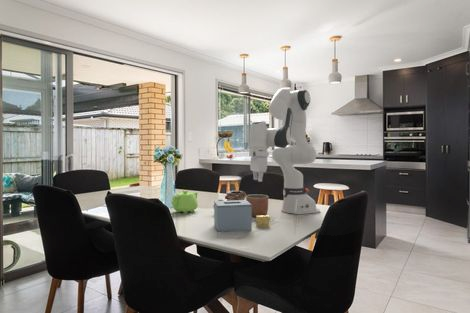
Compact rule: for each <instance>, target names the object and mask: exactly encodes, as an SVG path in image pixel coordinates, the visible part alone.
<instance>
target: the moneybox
mask: <svg viewBox="0 0 470 313" xmlns="http://www.w3.org/2000/svg"><path fill="white" fill-rule="evenodd" d="M213 206H214V207H213V209H214V210H213V212H214V213H213V215H214V218H213V219H214V224H213V225H214V227H215V229H216V232H217V233H220V232H221V233H222V232H224V233H225V232H239V231H241V232H242V231H252V223H253V222H252V220H253V219H252V218H253V217H252V204H250V203H249V202H248V201H247V200H246V199H244V200H231V201H226V200H224V201H218V200H214V202H213Z"/></svg>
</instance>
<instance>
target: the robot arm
mask: <svg viewBox="0 0 470 313" xmlns="http://www.w3.org/2000/svg"><path fill="white" fill-rule="evenodd" d="M310 95H311V94H310V93H309V91H308V90H307V89H298V90H293V91H290V90H289V89H287V88H284V87H283V88H279V89H278V90H277V91H276V93H275V94H274V95H273V97H272V98H271V100H270V103H269V105H268V106H269V107H268V110H269V114H270V115H271V116H272V117H273V118H275V119H276V120H280V121H282V125H281V126H280V127H277V128H276V127H275V128H269V127H267V121H265V120H256V121H252V122H251V123H250V127H249V151H248V152H249V157H250V164H249V168H250V171H251V172H252V175H253V180H254V181H257V182H259V183H260V182H261V183H262V182H263V178H264V173H267V170H268V158H269V157H270V156H269V154H270V153H269V152H268V148H273V150H272V153H271V155H272V156H271V157H272V159H273V161H274V162H275V163H276V164H277V165H278V166H279V167H280V169H281V171H282V173H283V174H282V175H283V186H284V187H283V190H282V191H283V192H282V194H283V201H282V202H283V203H282V206H281V209H280V210H281V212H283V213H287V214H288V213H289V214H295V215H307V214H317V213H321V209H319V208H318V207H317V204H316V200H314V199H313V198H312V197H311V196H309V195H308V193H309V192H310V189H309V188H307V187H306V188H305V187H304V174H303V173H302V172H301V171H300V170H298V169H296V168H295V166H294V165H308V164H312V163H313V164H314V162H315V160H316V158H317V151H316V149H315V148H314V147H313V146H312V145H311V143H309V142H308V140H307V135H306V133H307V132H306V128H307V115H306V110H307V109H308V107H309V105H310V103H311V96H310ZM291 142H293V143H295V144H294V145H289V144H291Z"/></svg>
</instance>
